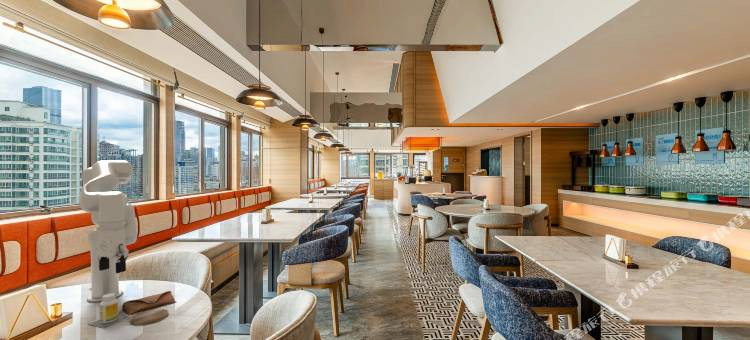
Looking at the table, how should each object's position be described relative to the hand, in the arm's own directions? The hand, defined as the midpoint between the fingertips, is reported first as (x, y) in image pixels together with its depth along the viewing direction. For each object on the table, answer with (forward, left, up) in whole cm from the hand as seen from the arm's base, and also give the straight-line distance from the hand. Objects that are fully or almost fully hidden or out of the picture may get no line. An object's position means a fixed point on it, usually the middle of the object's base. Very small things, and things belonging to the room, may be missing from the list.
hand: (112, 270), depth 123 cm
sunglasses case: (0, +14, -20) cm, 24 cm away
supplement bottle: (-1, -1, -19) cm, 19 cm away
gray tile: (-1, -1, -19) cm, 19 cm away
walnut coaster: (+11, +6, -19) cm, 23 cm away
